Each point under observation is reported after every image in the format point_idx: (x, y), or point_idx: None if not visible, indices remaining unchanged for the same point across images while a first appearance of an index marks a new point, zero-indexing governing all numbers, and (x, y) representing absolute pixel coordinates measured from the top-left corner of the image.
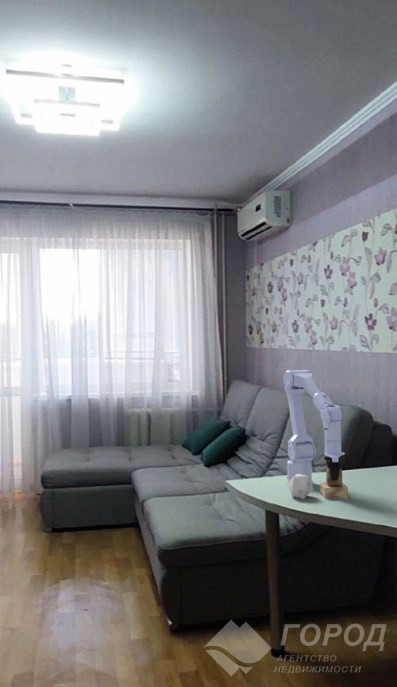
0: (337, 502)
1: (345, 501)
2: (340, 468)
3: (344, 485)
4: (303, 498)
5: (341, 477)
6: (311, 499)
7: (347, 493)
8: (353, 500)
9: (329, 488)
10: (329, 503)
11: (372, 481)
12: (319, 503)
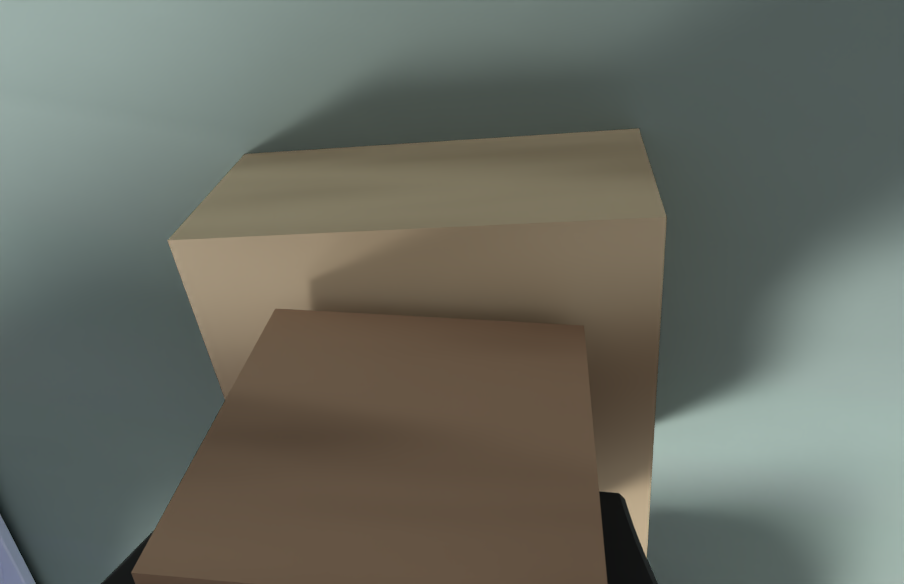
0: (871, 328)
1: (845, 208)
2: (196, 580)
3: (465, 251)
4: None
5: (589, 467)
6: (649, 558)
7: (649, 173)
8: (811, 59)
9: (648, 500)
10: (893, 427)
11: None
12: (856, 520)
